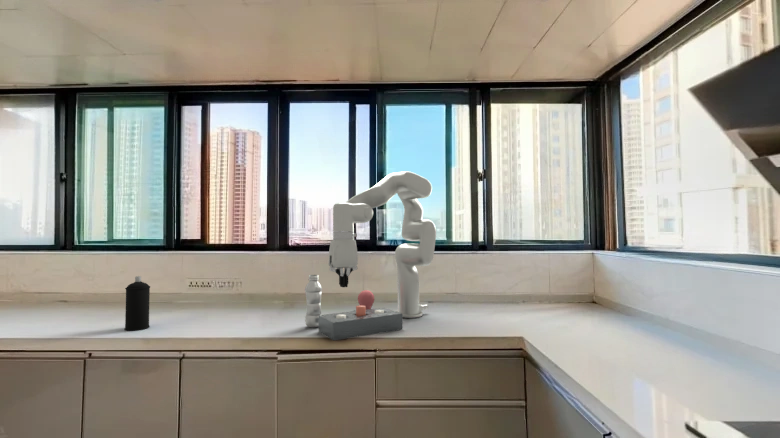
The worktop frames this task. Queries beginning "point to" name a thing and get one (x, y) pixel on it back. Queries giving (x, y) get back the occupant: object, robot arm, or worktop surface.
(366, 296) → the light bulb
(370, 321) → the panel
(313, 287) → the plastic bottle
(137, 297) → the aerosol can
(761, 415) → the worktop surface
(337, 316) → the cream plug
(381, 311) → the cream plug
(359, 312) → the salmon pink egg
